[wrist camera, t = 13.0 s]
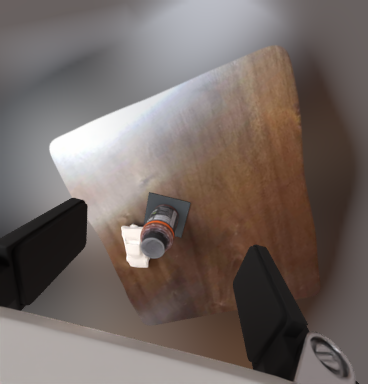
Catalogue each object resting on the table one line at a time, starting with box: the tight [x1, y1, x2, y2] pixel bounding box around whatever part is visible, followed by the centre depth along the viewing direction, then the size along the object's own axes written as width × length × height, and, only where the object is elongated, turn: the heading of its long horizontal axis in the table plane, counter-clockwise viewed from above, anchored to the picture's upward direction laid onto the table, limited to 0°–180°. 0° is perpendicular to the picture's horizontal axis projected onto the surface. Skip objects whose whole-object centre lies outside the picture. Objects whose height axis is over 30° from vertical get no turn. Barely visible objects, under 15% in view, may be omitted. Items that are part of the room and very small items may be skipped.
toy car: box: [121, 224, 150, 268], centre depth 40 cm, size 6×12×3 cm, turn 1°
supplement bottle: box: [140, 205, 178, 258], centre depth 33 cm, size 6×6×11 cm
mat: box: [143, 192, 190, 238], centre depth 38 cm, size 9×9×1 cm
